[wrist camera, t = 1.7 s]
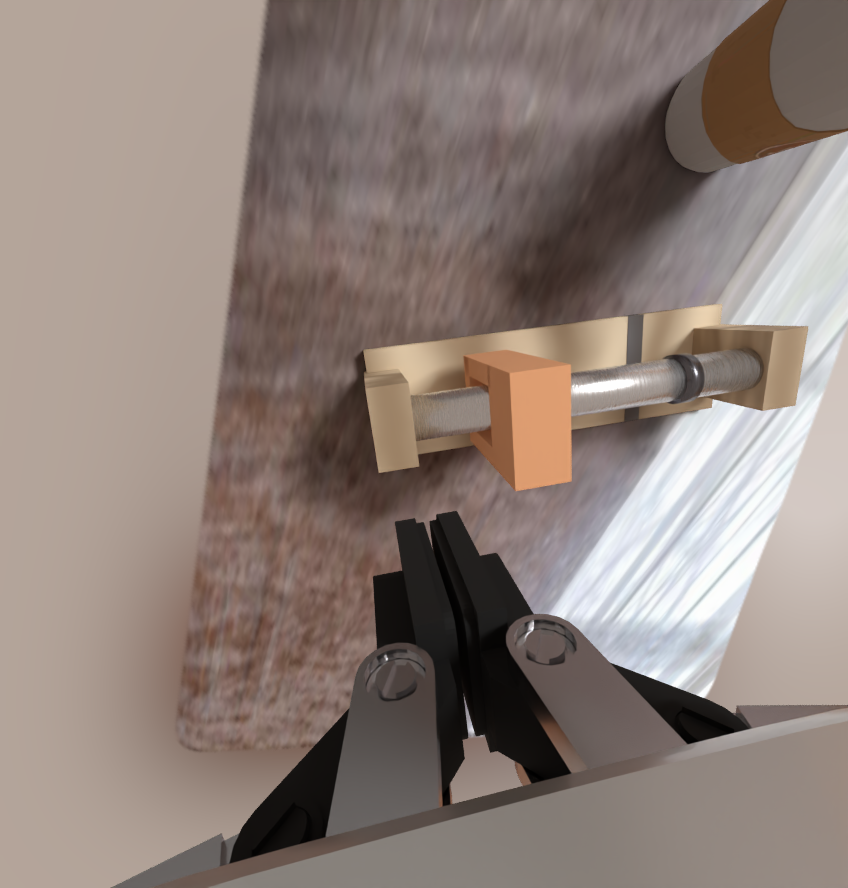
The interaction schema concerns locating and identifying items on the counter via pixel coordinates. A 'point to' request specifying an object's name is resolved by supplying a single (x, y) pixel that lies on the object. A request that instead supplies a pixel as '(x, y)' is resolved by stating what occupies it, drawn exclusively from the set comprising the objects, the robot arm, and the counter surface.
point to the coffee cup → (764, 87)
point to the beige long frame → (574, 369)
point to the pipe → (601, 390)
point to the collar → (524, 416)
